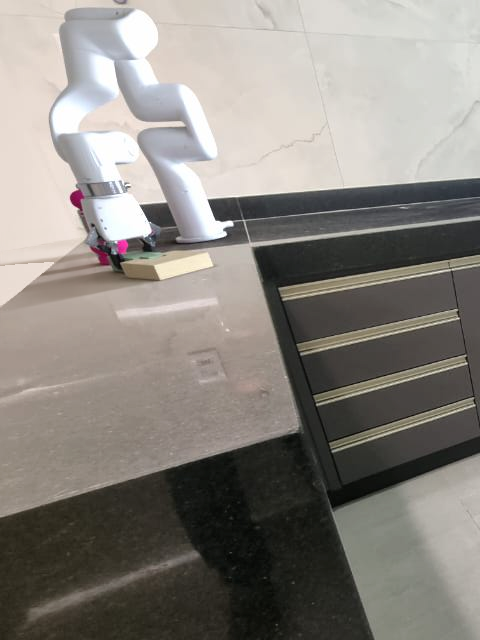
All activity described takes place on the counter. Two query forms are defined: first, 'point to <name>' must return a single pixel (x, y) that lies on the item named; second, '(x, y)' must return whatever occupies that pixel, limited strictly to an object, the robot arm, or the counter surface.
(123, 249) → the pepper mill
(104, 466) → the counter surface
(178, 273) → the sand pad
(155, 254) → the sage pad
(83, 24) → the robot arm
